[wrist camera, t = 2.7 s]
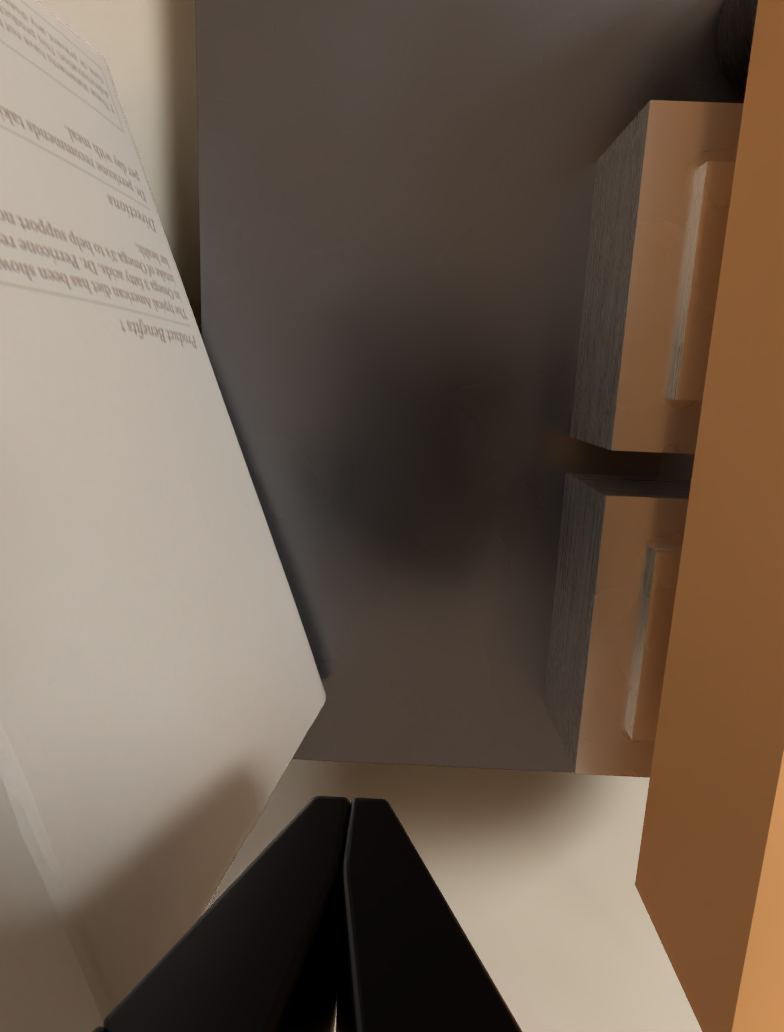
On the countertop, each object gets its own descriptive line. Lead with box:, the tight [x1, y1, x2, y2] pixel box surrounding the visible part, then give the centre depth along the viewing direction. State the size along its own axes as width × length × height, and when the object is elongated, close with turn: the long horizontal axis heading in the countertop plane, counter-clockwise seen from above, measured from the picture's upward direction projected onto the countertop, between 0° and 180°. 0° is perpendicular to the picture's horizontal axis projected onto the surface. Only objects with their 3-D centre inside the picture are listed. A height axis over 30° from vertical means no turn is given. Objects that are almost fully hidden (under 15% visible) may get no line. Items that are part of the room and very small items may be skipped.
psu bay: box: [195, 0, 758, 777], centre depth 11 cm, size 16×20×4 cm
